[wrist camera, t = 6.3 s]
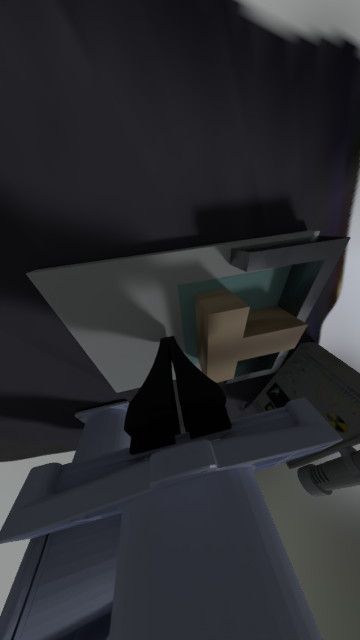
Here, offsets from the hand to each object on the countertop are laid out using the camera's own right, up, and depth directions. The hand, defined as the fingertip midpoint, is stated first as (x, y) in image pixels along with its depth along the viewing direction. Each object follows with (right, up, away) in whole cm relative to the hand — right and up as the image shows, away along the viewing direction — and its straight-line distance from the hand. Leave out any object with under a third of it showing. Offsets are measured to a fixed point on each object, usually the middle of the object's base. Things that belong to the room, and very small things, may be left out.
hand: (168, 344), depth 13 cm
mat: (+2, +2, +2) cm, 3 cm away
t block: (+7, +2, +1) cm, 8 cm away
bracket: (+9, +2, +2) cm, 10 cm away
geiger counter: (+21, -11, +15) cm, 28 cm away
